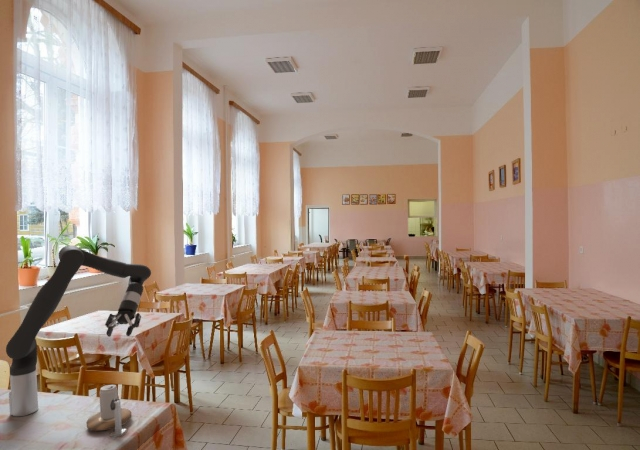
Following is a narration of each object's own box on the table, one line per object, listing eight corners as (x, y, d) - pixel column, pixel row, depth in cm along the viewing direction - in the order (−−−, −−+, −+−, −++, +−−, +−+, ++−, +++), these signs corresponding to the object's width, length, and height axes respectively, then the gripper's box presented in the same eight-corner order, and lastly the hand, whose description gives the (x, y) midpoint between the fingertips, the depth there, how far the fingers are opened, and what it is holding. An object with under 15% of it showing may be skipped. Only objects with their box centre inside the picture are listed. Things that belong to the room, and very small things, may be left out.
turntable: (77, 430, 163) (77, 427, 163) (101, 411, 179) (101, 408, 179) (118, 430, 162) (118, 427, 162) (138, 410, 178) (138, 408, 178)
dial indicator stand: (110, 437, 160) (108, 402, 160) (117, 430, 165) (115, 396, 165) (121, 436, 160) (119, 402, 160) (127, 430, 165) (126, 396, 164)
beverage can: (111, 421, 167) (110, 390, 167) (96, 420, 168) (95, 389, 168) (122, 413, 173) (120, 384, 173) (107, 413, 174) (106, 383, 174)
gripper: (111, 299, 195) (98, 331, 184) (142, 298, 195) (130, 330, 183) (118, 308, 201) (105, 340, 190) (147, 307, 200) (137, 339, 189)
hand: (118, 335), depth 187 cm, fingers open, 8 cm apart
